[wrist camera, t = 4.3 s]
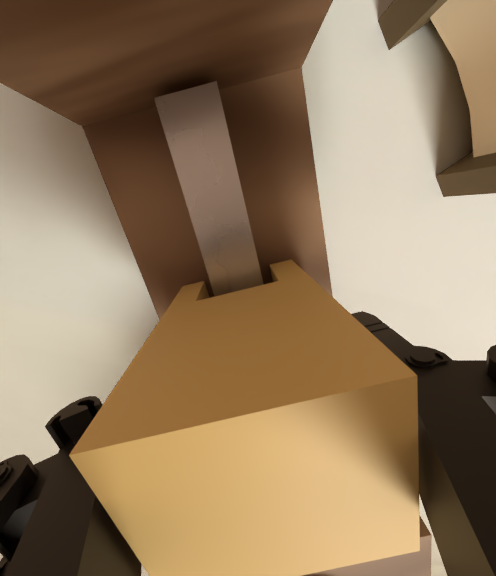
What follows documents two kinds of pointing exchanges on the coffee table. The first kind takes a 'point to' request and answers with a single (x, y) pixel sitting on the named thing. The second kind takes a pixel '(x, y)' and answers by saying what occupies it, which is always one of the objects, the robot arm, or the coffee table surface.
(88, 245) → the coffee table surface
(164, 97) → the bar
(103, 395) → the coffee table surface
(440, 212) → the coffee table surface
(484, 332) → the coffee table surface
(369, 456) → the carriage
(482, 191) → the book
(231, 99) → the wooden base
